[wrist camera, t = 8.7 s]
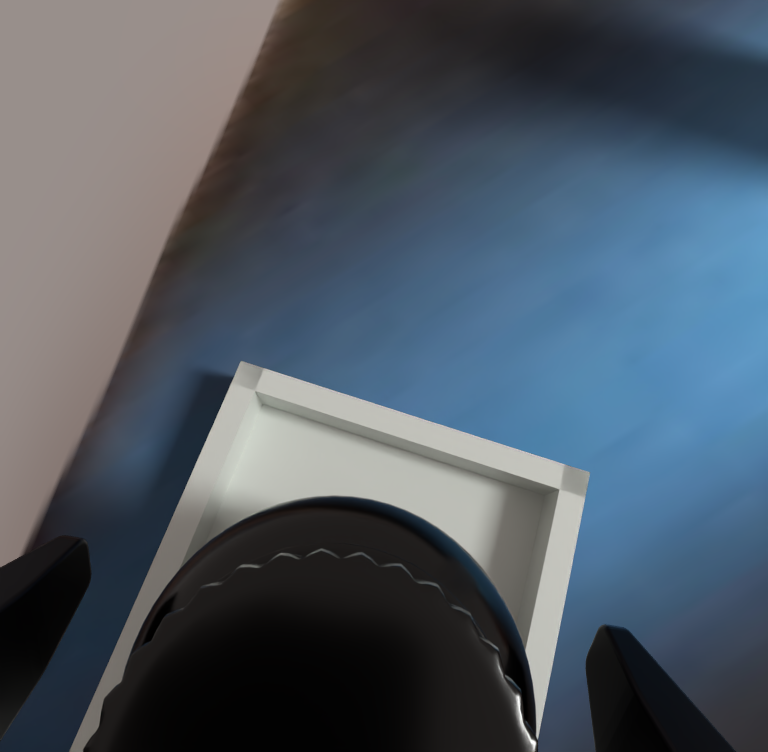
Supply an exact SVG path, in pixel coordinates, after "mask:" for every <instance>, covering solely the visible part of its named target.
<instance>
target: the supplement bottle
mask: <svg viewBox="0 0 768 752" xmlns="http://www.w3.org/2000/svg"><path fill="white" fill-rule="evenodd" d="M83 752H538V740H537V737H536V705H535V697H534V688H533V681H532V677H531V672H530V667H529V662H528V659H527V655H526V652H525V648H524V645H523V642H522V639H521V636H520V634H519V631H518V629H517V626H516V623H515V621H514V619H513V617H512V615H511V613H510V611H509V609H508V607H507V605H506V603H505V601H504V599H503V597H502V596H501V594H500V593H499V591H498V589H497V588H496V586H495V584H494V583H493V582H492V580H491V579H490V578H489V576H488V575H487V574H486V572H485V571H484V570H483V568H482V567H481V566H480V565H479V564H478V563H477V561H476V560H475V559H474V558H473V557H472V556H471V555H470V554H469V553H468V552H467V551H466V550H465V549H464V548H463V547H462V546H461V545H460V544H459V543H458V542H456V541H455V540H454V539H453V538H452V537H450V536H449V535H448V534H446V533H445V532H444V531H442V530H441V529H440V528H438V527H437V526H435V525H433V524H432V523H430V522H428V521H427V520H425V519H424V518H422V517H420V516H417V515H415V514H413V513H411V512H409V511H407V510H405V509H402V508H399V507H397V506H394V505H391V504H388V503H384V502H380V501H377V500H373V499H367V498H361V497H354V496H338V495H332V496H315V497H308V498H301V499H296V500H292V501H288V502H284V503H280V504H277V505H274V506H271V507H268V508H265V509H263V510H260V511H258V512H256V513H254V514H252V515H250V516H247V517H245V518H243V519H242V520H240V521H238V522H236V523H235V524H233V525H231V526H230V527H228V528H226V529H225V530H224V531H222V532H221V533H219V534H218V535H217V536H215V537H214V538H212V539H211V540H210V541H209V542H207V543H206V544H205V545H204V546H203V547H202V548H200V549H199V550H198V551H197V552H196V553H195V554H194V555H193V556H192V557H191V558H190V559H189V560H188V561H187V562H186V563H185V564H184V565H183V566H182V567H181V568H180V569H179V571H178V572H177V573H176V574H175V575H174V577H173V578H172V579H171V580H170V582H169V583H168V584H167V585H166V587H165V588H164V590H163V591H162V593H161V594H160V596H159V597H158V599H157V600H156V601H155V603H154V604H153V606H152V608H151V610H150V612H149V613H148V615H147V617H146V619H145V620H144V622H143V624H142V626H141V628H140V631H139V633H138V635H137V637H136V639H135V642H134V644H133V647H132V649H131V652H130V655H129V658H128V660H127V663H126V666H125V670H124V674H123V677H122V681H121V682H120V683H119V684H118V685H116V686H115V687H114V688H113V689H112V690H111V691H110V692H109V693H108V695H107V696H106V697H105V698H104V701H103V705H102V710H101V716H100V723H99V727H98V729H97V730H96V732H95V733H94V734H93V735H92V736H91V738H90V739H89V741H88V742H87V744H86V745H85V747H84V748H83Z"/></svg>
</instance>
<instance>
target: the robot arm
mask: <svg viewBox="0 0 768 752" xmlns="http://www.w3.org/2000/svg"><path fill="white" fill-rule="evenodd" d="M90 580H91V565H90V557H89V550H88V544H87V542H86V540H85V539H83V538H78V537H72V536H66V535H63V536H59V537H57V538H55V539H53V540H51V541H49V542H47V543H45V544H43V545H41V546H40V547H38V548H36V549H34V550H32V551H30V552H28V553H27V554H25V555H23V556H21V557H19V558H17V559H15V560H13V561H12V562H10V563H8V564H6V565H4V566H2V567H0V741H1V739H2V737H3V736H4V734H5V733H6V731H7V730H8V728H9V727H10V725H11V723H12V722H13V720H14V719H15V717H16V716H17V714H18V713H19V711H20V709H21V708H22V706H23V705H24V703H25V702H26V700H27V699H28V697H29V695H30V694H31V692H32V691H33V689H34V688H35V686H36V684H37V683H38V681H39V680H40V678H41V676H42V675H43V673H44V671H45V670H46V668H47V666H48V664H49V662H50V660H51V659H52V657H53V655H54V653H55V651H56V649H57V647H58V645H59V643H60V641H61V639H62V637H63V635H64V633H65V631H66V629H67V627H68V625H69V623H70V622H71V620H72V618H73V616H74V614H75V612H76V610H77V608H78V606H79V604H80V602H81V600H82V598H83V596H84V594H85V592H86V590H87V588H88V586H89V583H90ZM586 677H587V685H588V693H589V701H590V709H591V718H592V726H593V734H594V742H595V750H596V752H736V751H735V750H734V749H733V748H732V746H731V745H730V744H729V743H728V742H727V741H726V740H725V739H724V737H723V736H722V735H721V734H720V733H719V732H718V731H717V730H716V728H715V727H714V726H713V725H712V724H711V723H710V722H709V720H708V719H707V718H706V717H705V716H704V715H703V714H702V713H701V711H700V710H699V709H698V708H697V707H696V706H695V705H694V703H693V702H692V701H691V700H690V699H689V698H688V697H687V696H686V694H685V693H684V692H683V691H682V690H681V689H680V688H679V687H678V685H677V684H676V683H675V682H674V681H673V680H672V679H671V677H670V676H669V675H668V674H667V673H666V672H665V671H664V670H663V668H662V667H661V666H660V665H659V664H658V663H657V662H656V660H655V659H654V658H653V657H652V656H651V655H650V654H649V653H648V651H647V650H646V649H645V648H644V647H643V646H642V645H641V644H640V642H639V641H638V640H637V639H636V638H635V637H634V636H633V634H632V633H631V632H630V631H629V630H627V629H626V628H624V627H619V626H613V625H606V624H604V625H601V626H600V627H599V629H598V631H597V633H596V635H595V638H594V640H593V642H592V645H591V647H590V649H589V652H588V654H587V658H586Z"/></svg>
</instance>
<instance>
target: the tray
mask: <svg viewBox="0 0 768 752" xmlns="http://www.w3.org/2000/svg"><path fill="white" fill-rule="evenodd" d="M589 475H590V472H587V471H583V470H580V469H577V468H574V467H571V466H568V465H565V464H561V463H558V462H555V461H552V460H549V459H546V458H543V457H540V456H536V455H533V454H530V453H527V452H524V451H521V450H518V449H515V448H511V447H508V446H505V445H502V444H499V443H496V442H493V441H490V440H486V439H483V438H480V437H477V436H474V435H471V434H468V433H465V432H461V431H458V430H455V429H452V428H449V427H446V426H443V425H440V424H436V423H433V422H430V421H427V420H424V419H421V418H418V417H415V416H411V415H408V414H405V413H402V412H399V411H396V410H393V409H390V408H386V407H383V406H380V405H377V404H374V403H371V402H368V401H365V400H361V399H358V398H355V397H352V396H349V395H346V394H343V393H339V392H336V391H333V390H330V389H327V388H324V387H321V386H318V385H314V384H311V383H308V382H305V381H302V380H299V379H296V378H293V377H289V376H286V375H283V374H280V373H277V372H274V371H271V370H268V369H264V368H261V367H258V366H255V365H252V364H249V363H246V362H243V361H241V362H240V365H239V367H238V369H237V372H236V374H235V376H234V378H233V381H232V383H231V385H230V387H229V390H228V392H227V394H226V397H225V399H224V401H223V403H222V406H221V408H220V410H219V412H218V415H217V417H216V419H215V422H214V424H213V426H212V428H211V431H210V433H209V435H208V437H207V440H206V442H205V444H204V447H203V449H202V451H201V453H200V456H199V458H198V460H197V462H196V465H195V467H194V469H193V472H192V474H191V476H190V478H189V481H188V483H187V485H186V487H185V490H184V492H183V494H182V497H181V499H180V501H179V503H178V506H177V508H176V510H175V512H174V515H173V517H172V519H171V522H170V524H169V526H168V528H167V531H166V533H165V535H164V537H163V540H162V542H161V544H160V547H159V549H158V551H157V553H156V556H155V558H154V560H153V562H152V565H151V567H150V569H149V572H148V574H147V576H146V578H145V581H144V583H143V585H142V587H141V590H140V592H139V594H138V597H137V599H136V601H135V603H134V606H133V608H132V610H131V612H130V615H129V617H128V619H127V622H126V624H125V626H124V628H123V631H122V633H121V635H120V638H119V640H118V642H117V644H116V647H115V649H114V651H113V653H112V656H111V658H110V660H109V663H108V665H107V667H106V669H105V672H104V674H103V676H102V678H101V681H100V683H99V685H98V688H97V690H96V692H95V694H94V697H93V699H92V701H91V703H90V706H89V708H88V710H87V713H86V715H85V717H84V719H83V722H82V724H81V726H80V728H79V731H78V733H77V735H76V738H75V740H74V742H73V744H72V747H71V749H70V751H69V752H83V748H84V747H85V745H86V744H87V742H88V741H89V739H90V738H91V736H92V735H93V734H94V733H95V732H96V730H97V729H98V727H99V723H100V716H101V710H102V705H103V701H104V698H105V697H106V696H107V695H108V693H109V692H110V691H111V690H112V689H113V688H114V687H115V686H116V685H118V684H119V683H120V682H121V681H122V677H123V674H124V670H125V666H126V663H127V660H128V658H129V655H130V652H131V649H132V647H133V644H134V642H135V639H136V637H137V635H138V633H139V631H140V628H141V626H142V624H143V622H144V620H145V619H146V617H147V615H148V613H149V612H150V610H151V608H152V606H153V604H154V603H155V601H156V600H157V599H158V597H159V596H160V594H161V593H162V591H163V590H164V588H165V587H166V585H167V584H168V583H169V582H170V580H171V579H172V578H173V577H174V575H175V574H176V573H177V572H178V571H179V569H180V568H181V567H182V566H183V565H184V564H185V563H186V562H187V561H188V560H189V559H190V558H191V557H192V556H193V555H194V554H195V553H196V552H197V551H198V550H199V549H200V548H202V547H203V546H204V545H205V544H206V543H207V542H209V541H210V540H211V539H212V538H214V537H215V536H217V535H218V534H219V533H221V532H222V531H224V530H225V529H226V528H228V527H230V526H231V525H233V524H235V523H236V522H238V521H240V520H242V519H243V518H245V517H247V516H250V515H252V514H254V513H256V512H258V511H260V510H263V509H265V508H268V507H271V506H274V505H277V504H280V503H284V502H288V501H292V500H296V499H301V498H308V497H315V496H332V495H338V496H354V497H361V498H367V499H373V500H377V501H380V502H384V503H388V504H391V505H394V506H397V507H399V508H402V509H405V510H407V511H409V512H411V513H413V514H415V515H417V516H420V517H422V518H424V519H425V520H427V521H428V522H430V523H432V524H433V525H435V526H437V527H438V528H440V529H441V530H442V531H444V532H445V533H446V534H448V535H449V536H450V537H452V538H453V539H454V540H455V541H456V542H458V543H459V544H460V545H461V546H462V547H463V548H464V549H465V550H466V551H467V552H468V553H469V554H470V555H471V556H472V557H473V558H474V559H475V560H476V561H477V563H478V564H479V565H480V566H481V567H482V568H483V570H484V571H485V572H486V574H487V575H488V576H489V578H490V579H491V580H492V582H493V583H494V584H495V586H496V588H497V589H498V591H499V593H500V594H501V596H502V597H503V599H504V601H505V603H506V605H507V607H508V609H509V611H510V613H511V615H512V617H513V619H514V621H515V623H516V626H517V629H518V631H519V634H520V636H521V639H522V642H523V645H524V648H525V652H526V655H527V659H528V662H529V667H530V672H531V677H532V681H533V688H534V697H535V705H536V737H537V740H538V735H539V730H540V725H541V720H542V715H543V710H544V705H545V700H546V695H547V690H548V684H549V679H550V674H551V669H552V664H553V659H554V654H555V649H556V644H557V639H558V633H559V628H560V623H561V618H562V613H563V608H564V603H565V598H566V593H567V588H568V582H569V577H570V572H571V567H572V562H573V557H574V552H575V547H576V542H577V537H578V531H579V526H580V521H581V516H582V511H583V506H584V501H585V496H586V491H587V486H588V480H589Z"/></svg>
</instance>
